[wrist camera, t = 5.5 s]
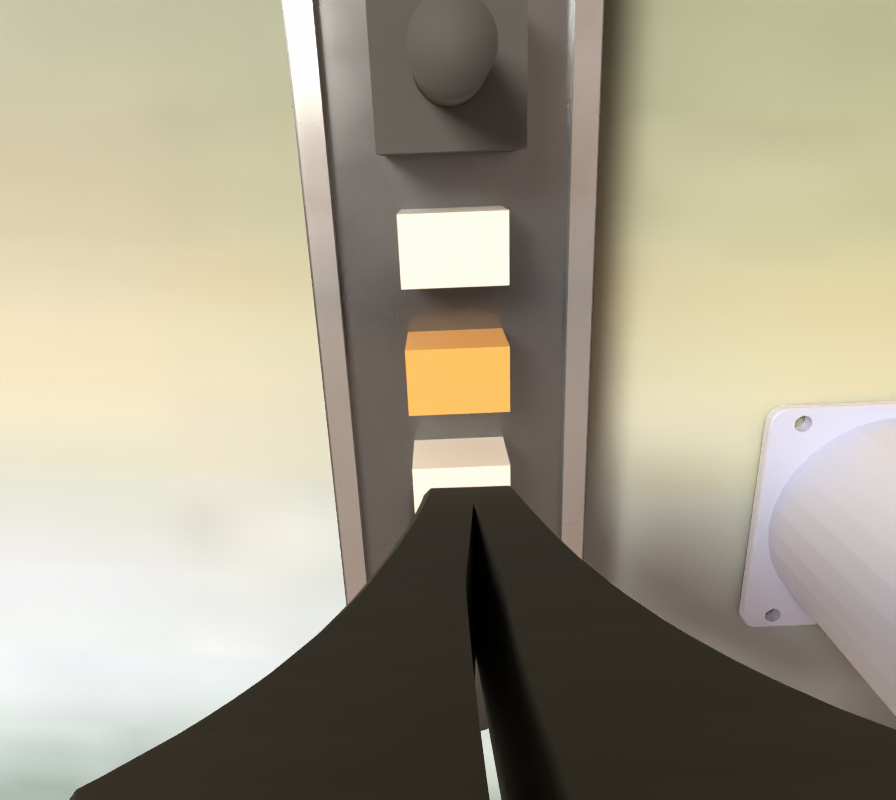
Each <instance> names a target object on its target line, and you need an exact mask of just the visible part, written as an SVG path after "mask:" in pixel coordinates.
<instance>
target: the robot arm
mask: <svg viewBox="0 0 896 800" xmlns="http://www.w3.org/2000/svg"><path fill="white" fill-rule="evenodd" d="M802 416H805V420H804V423H803V424H801V425H800V426H798V427H795V422H796V420H797V419H798V418H799V417H802ZM771 609H774V611H773V612H771V613H770V614H766V613H767V612H768V611H769V610H771ZM739 615H740V616H741V618H742V619H743V620H744V622H745V623H746V624H747V625H749V626H750V627H771V626H794V625H817V624H818V625H819V626H820V627H821V629H822V630H823V631H824V632H825V633H826V634H827V636H828V637H829V638H830V639H831V640H832V642H833V643H834V644H835V645H836V646H837V648H838V649H839V650H840V651H841V652H842V653H843V655H844V656H845V657H846V658H847V659H848V661H849V662H850V663H851V664H852V665H853V667H854V668H855V669H856V670H857V671H858V673H859V674H860V675H861V676H862V677H863V678H864V680H865V681H866V682H867V683H868V684H869V686H870V687H871V688H872V689H873V690H874V692H875V693H876V694H877V695H878V696H879V697H880V699H881V700H882V701H883V702H884V703H885V705H886V706H887V707H888V708H889V709H890V711H891V712H892V713H893V714H894V715H895V717H896V401H872V402H848V403H824V404H799V405H782V406H777V407H776V408H774V409H772V410H771V411H770V412H769V413H768V415H767V417H766V420H765V425H764V432H763V439H762V447H761V454H760V461H759V468H758V476H757V483H756V490H755V498H754V505H753V512H752V519H751V527H750V534H749V541H748V548H747V556H746V563H745V570H744V577H743V585H742V592H741V599H740V607H739ZM476 660H477V666H478V671H479V677H480V683H481V688H482V694H483V699H484V705H485V711H486V716H487V722H488V727H489V733H490V738H491V744H492V749H493V755H494V760H495V766H496V771H497V777H498V782H499V788H500V793H501V800H896V730H895V729H892V728H889V727H887V726H884V725H881V724H879V723H876V722H873V721H871V720H868V719H865V718H862V717H860V716H857V715H854V714H852V713H849V712H846V711H844V710H841V709H839V708H837V707H834V706H832V705H829V704H827V703H825V702H823V701H820V700H818V699H816V698H814V697H811V696H809V695H807V694H805V693H802V692H800V691H798V690H796V689H794V688H791V687H789V686H787V685H785V684H782V683H780V682H778V681H776V680H773V679H771V678H769V677H767V676H765V675H763V674H761V673H759V672H757V671H755V670H753V669H751V668H749V667H747V666H745V665H743V664H741V663H739V662H737V661H735V660H733V659H731V658H729V657H727V656H725V655H724V654H722V653H720V652H718V651H716V650H715V649H713V648H711V647H709V646H707V645H706V644H704V643H702V642H700V641H698V640H696V639H695V638H693V637H691V636H689V635H687V634H686V633H684V632H682V631H681V630H679V629H677V628H676V627H674V626H673V625H671V624H669V623H668V622H666V621H664V620H663V619H661V618H660V617H658V616H657V615H655V614H654V613H652V612H651V611H649V610H648V609H646V608H645V607H643V606H642V605H640V604H639V603H638V602H636V601H635V600H633V599H632V598H630V597H629V596H627V595H626V594H624V593H623V592H622V591H620V590H619V589H618V588H616V587H615V586H614V585H612V584H611V583H610V582H608V581H607V580H606V579H605V578H603V577H602V576H601V575H600V574H599V573H597V572H596V571H595V570H594V569H593V568H591V567H590V566H589V565H588V564H586V563H585V562H584V561H583V560H582V559H581V558H579V557H578V556H577V555H576V554H575V553H574V552H573V551H572V550H571V549H570V548H569V547H568V546H567V545H566V544H565V543H564V542H563V541H562V540H560V539H559V538H558V537H557V536H556V535H555V534H554V533H553V532H552V531H551V530H550V529H549V528H548V527H547V526H546V525H545V523H544V522H543V521H542V520H541V519H540V518H539V517H538V516H537V515H536V514H535V513H534V512H533V511H532V509H531V508H530V507H529V506H528V505H527V504H526V503H525V502H524V500H523V499H522V498H521V497H520V496H519V495H518V494H517V492H516V491H515V490H513V489H512V488H511V487H510V486H481V487H451V488H431V489H429V490H428V491H427V492H426V493H425V494H424V496H423V499H422V501H421V503H420V505H419V507H418V509H417V511H416V513H415V515H414V517H413V518H412V520H411V522H410V523H409V525H408V527H407V529H406V530H405V532H404V533H403V535H402V536H401V538H400V539H399V540H398V542H397V543H396V545H395V546H394V548H393V549H392V551H391V552H390V554H389V555H388V557H387V558H386V559H385V561H384V562H383V563H382V564H381V566H380V567H379V568H378V569H377V571H376V572H375V573H374V574H373V576H372V577H371V578H370V579H369V581H368V582H367V583H366V584H365V585H364V587H363V588H362V589H361V590H360V591H359V593H358V594H357V595H356V596H355V597H354V598H353V599H352V600H351V601H350V603H349V604H348V605H347V606H346V607H345V608H344V609H343V610H342V611H341V612H340V613H339V614H338V615H337V616H336V617H335V618H334V619H333V620H332V621H331V622H330V623H329V624H328V625H327V626H326V627H325V628H324V629H323V630H322V631H321V632H320V633H319V634H318V635H316V636H315V637H314V638H313V639H312V640H311V641H309V642H308V643H307V644H306V645H305V646H303V647H302V648H301V649H300V650H298V651H297V652H296V653H295V654H294V655H292V656H291V657H290V658H289V659H287V660H286V661H285V662H284V663H282V664H281V665H280V666H279V667H278V668H276V669H275V670H274V671H273V672H271V673H270V674H269V675H267V676H266V677H265V678H263V679H262V680H260V681H259V682H258V683H256V684H255V685H253V686H252V687H250V688H249V689H248V690H246V691H245V692H243V693H242V694H240V695H239V696H238V697H236V698H235V699H233V700H232V701H230V702H229V703H227V704H225V705H224V706H222V707H221V708H219V709H218V710H216V711H215V712H213V713H212V714H210V715H209V716H207V717H205V718H204V719H202V720H201V721H199V722H198V723H196V724H194V725H193V726H191V727H189V728H188V729H186V730H184V731H183V732H181V733H179V734H178V735H176V736H174V737H172V738H171V739H169V740H167V741H165V742H163V743H162V744H160V745H158V746H156V747H154V748H153V749H151V750H149V751H147V752H145V753H144V754H142V755H140V756H138V757H136V758H135V759H133V760H131V761H129V762H127V763H126V764H124V765H122V766H120V767H118V768H116V769H115V770H113V771H111V772H109V773H107V774H106V775H104V776H102V777H100V778H98V779H96V780H94V781H92V782H90V783H88V784H86V785H85V786H83V787H81V788H79V789H77V790H76V791H75V792H74V794H73V795H72V797H71V798H70V800H490V799H489V793H488V785H487V778H486V770H485V762H484V755H483V747H482V739H481V732H480V724H479V715H478V706H477V697H476V688H475V667H476Z"/></svg>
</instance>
